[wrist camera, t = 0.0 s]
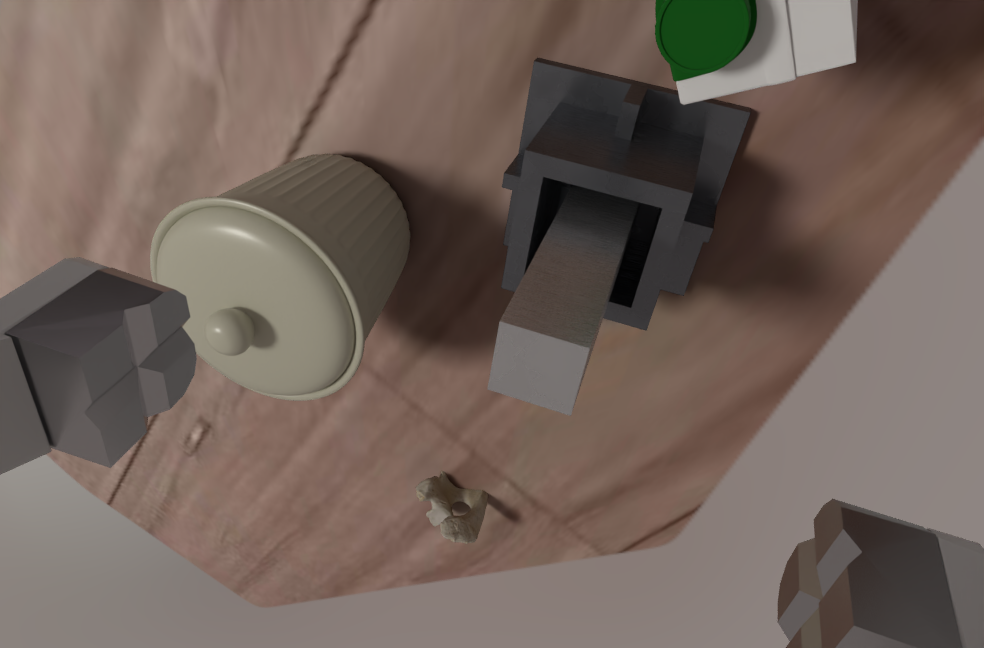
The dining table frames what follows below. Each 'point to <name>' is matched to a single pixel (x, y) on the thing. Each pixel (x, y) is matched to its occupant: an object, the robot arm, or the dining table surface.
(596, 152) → the stand
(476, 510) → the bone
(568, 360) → the column
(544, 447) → the dining table surface
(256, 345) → the canister
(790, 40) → the milk carton
